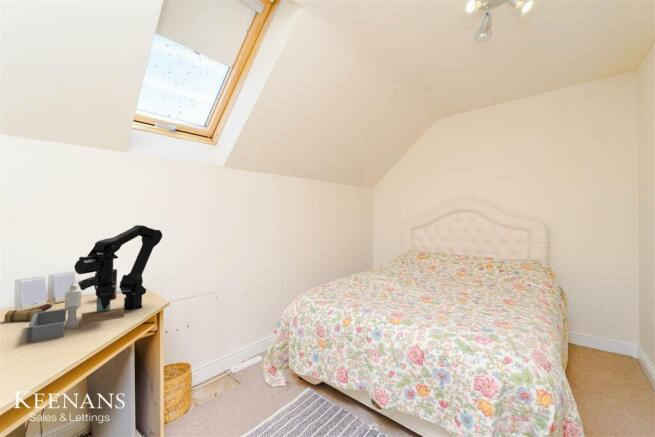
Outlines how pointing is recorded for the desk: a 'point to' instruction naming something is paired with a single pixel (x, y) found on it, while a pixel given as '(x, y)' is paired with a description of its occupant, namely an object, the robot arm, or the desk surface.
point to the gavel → (24, 313)
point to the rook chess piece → (71, 318)
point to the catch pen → (46, 325)
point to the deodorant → (114, 282)
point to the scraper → (102, 313)
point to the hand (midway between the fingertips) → (103, 306)
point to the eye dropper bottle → (73, 296)
